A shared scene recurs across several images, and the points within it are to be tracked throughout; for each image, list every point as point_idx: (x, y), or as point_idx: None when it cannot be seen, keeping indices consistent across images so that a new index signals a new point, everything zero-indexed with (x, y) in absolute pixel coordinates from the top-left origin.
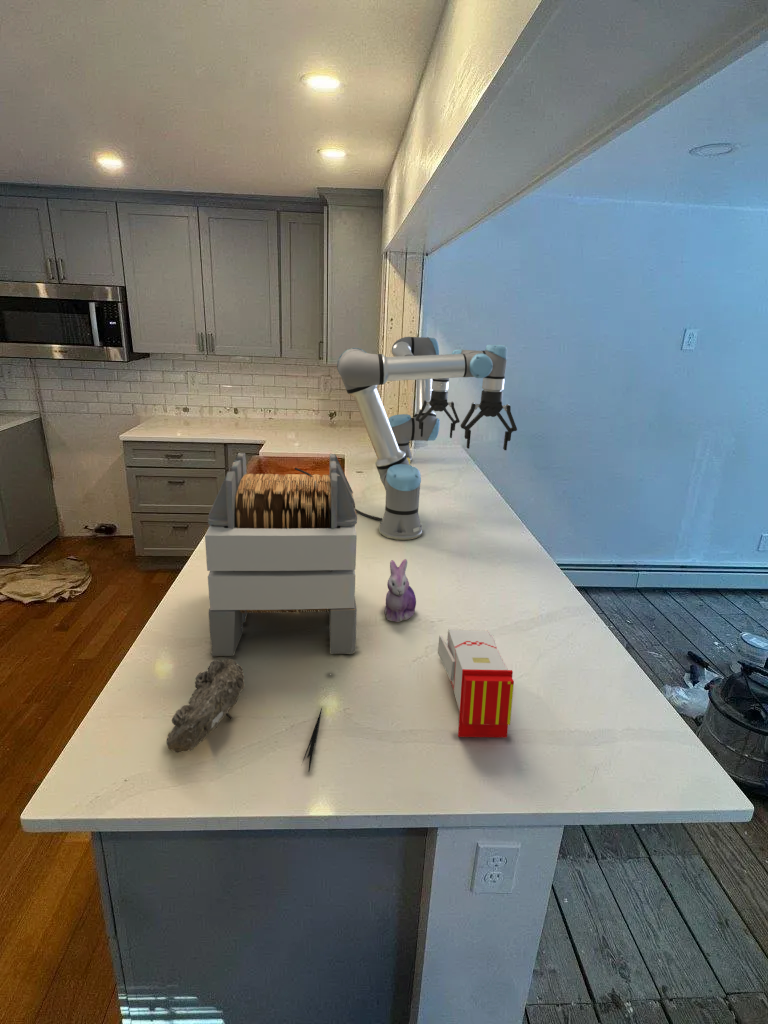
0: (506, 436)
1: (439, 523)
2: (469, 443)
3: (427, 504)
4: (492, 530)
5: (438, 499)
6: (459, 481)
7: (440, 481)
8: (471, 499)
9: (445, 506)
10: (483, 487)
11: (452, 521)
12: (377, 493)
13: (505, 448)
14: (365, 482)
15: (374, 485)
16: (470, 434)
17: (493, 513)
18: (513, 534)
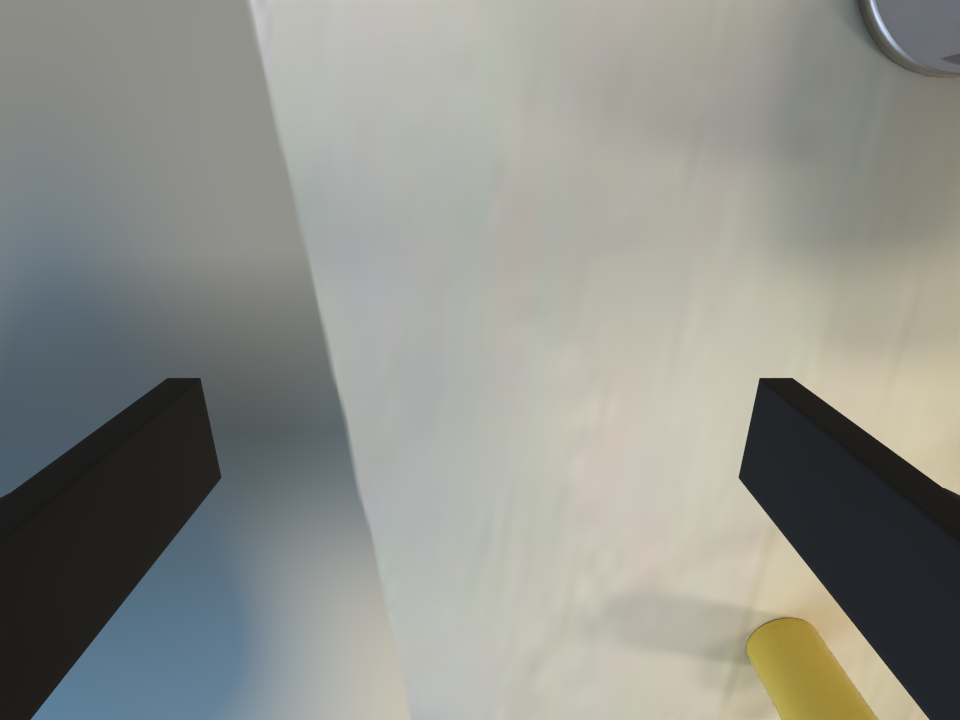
0: (8, 525)
1: (710, 135)
2: (813, 415)
3: (713, 415)
4: (425, 61)
5: (643, 489)
6: (506, 712)
7: (591, 702)
8: (482, 511)
9: (627, 400)
10: (407, 660)
11: (630, 180)
12: None
13: (170, 390)
14: None
15: None
16: (949, 530)
17: (393, 336)
18: (309, 8)
